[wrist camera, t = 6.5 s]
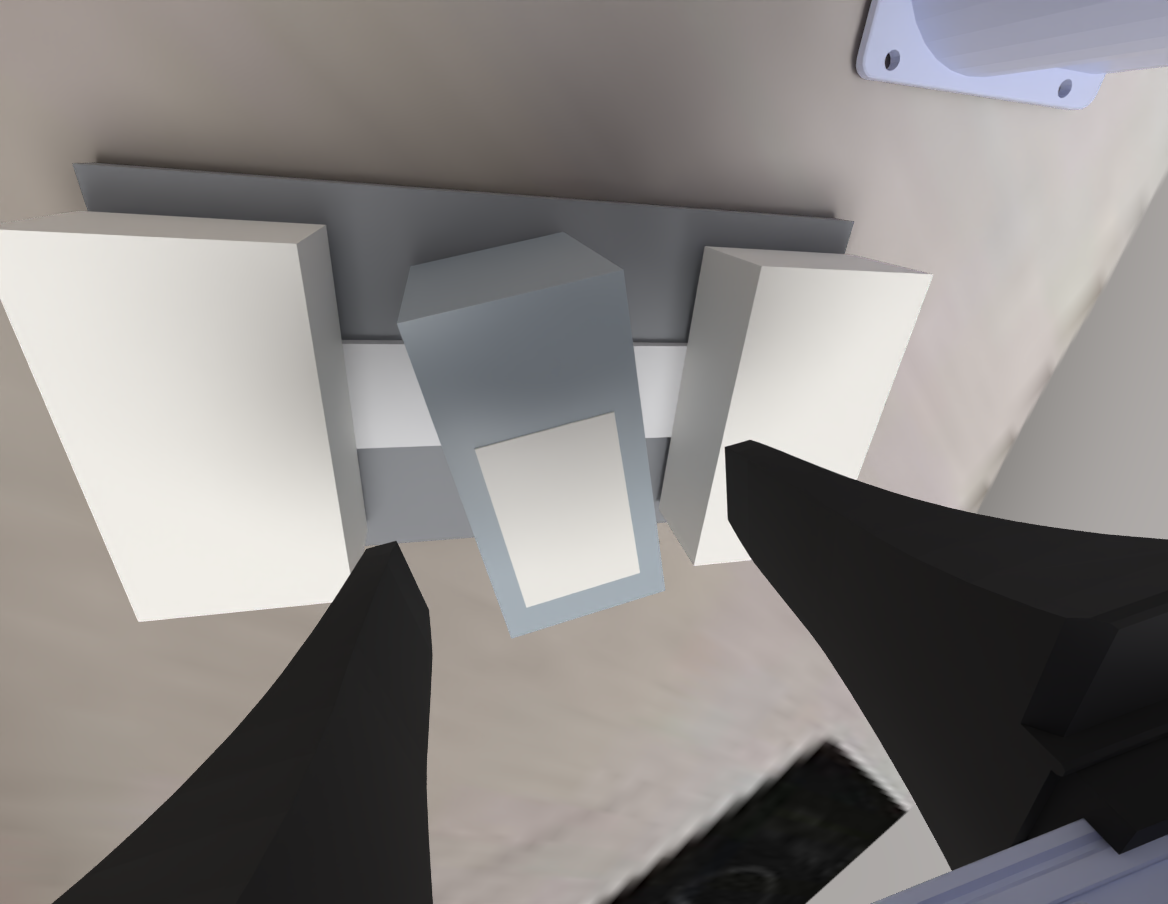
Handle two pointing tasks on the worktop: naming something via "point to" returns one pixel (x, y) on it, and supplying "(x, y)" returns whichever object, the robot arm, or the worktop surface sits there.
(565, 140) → the worktop surface
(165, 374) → the rail board
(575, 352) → the block
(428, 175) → the worktop surface
